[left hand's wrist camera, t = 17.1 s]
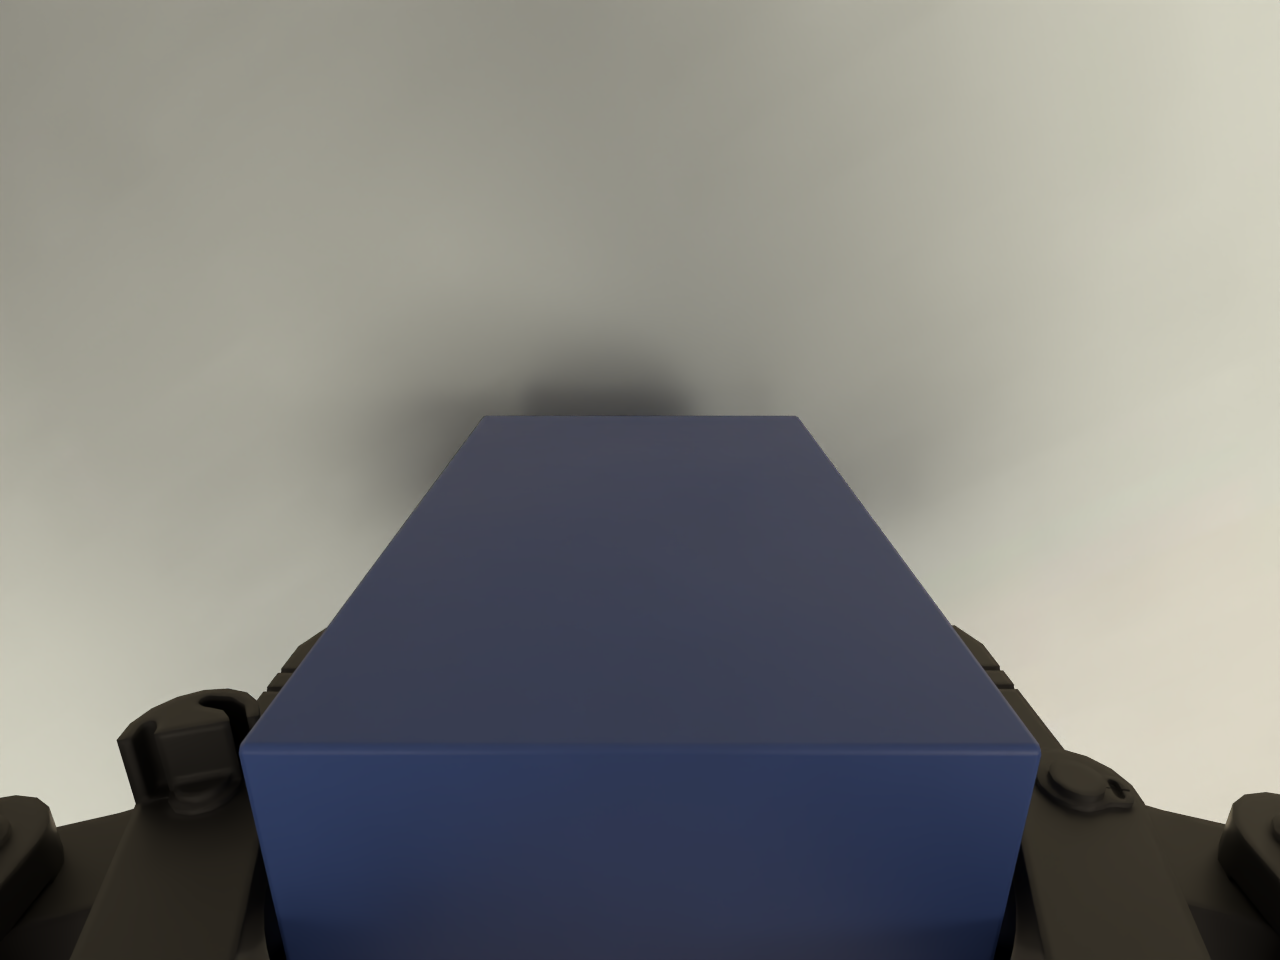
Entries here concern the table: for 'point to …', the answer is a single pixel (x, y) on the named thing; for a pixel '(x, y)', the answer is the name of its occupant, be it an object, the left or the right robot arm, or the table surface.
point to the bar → (640, 720)
